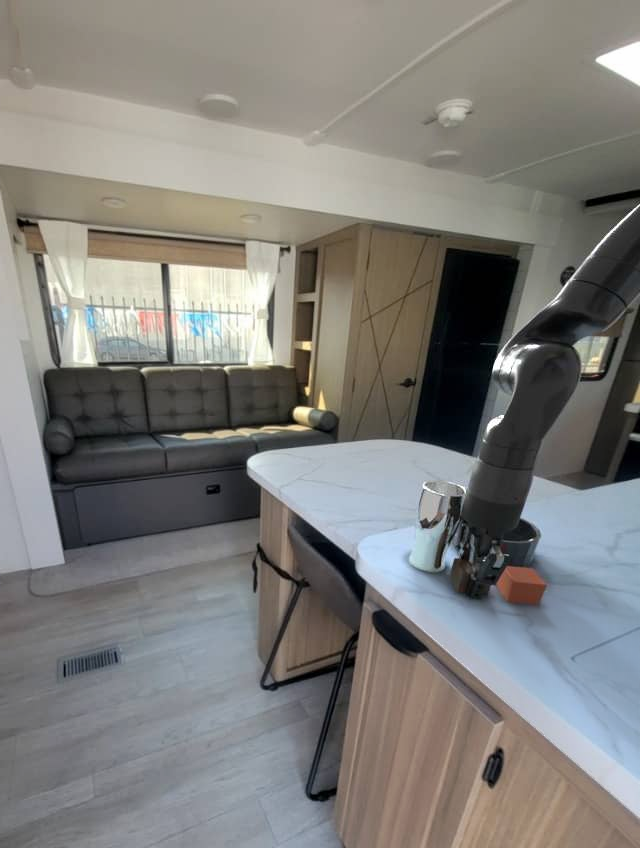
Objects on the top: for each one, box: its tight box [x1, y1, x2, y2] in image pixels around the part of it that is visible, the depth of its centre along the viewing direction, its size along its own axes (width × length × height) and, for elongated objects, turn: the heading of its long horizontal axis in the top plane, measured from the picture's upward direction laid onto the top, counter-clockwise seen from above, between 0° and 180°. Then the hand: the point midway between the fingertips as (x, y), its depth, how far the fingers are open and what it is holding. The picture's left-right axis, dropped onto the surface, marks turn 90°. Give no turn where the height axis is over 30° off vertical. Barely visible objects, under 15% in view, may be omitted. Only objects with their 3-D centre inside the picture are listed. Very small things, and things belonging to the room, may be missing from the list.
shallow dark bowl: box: [451, 517, 542, 568], centre depth 75 cm, size 13×13×6 cm
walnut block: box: [449, 557, 492, 597], centre depth 64 cm, size 4×4×4 cm
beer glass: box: [408, 480, 467, 573], centre depth 68 cm, size 7×7×15 cm
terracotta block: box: [495, 566, 548, 606], centre depth 63 cm, size 4×4×4 cm
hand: (466, 588), depth 65 cm, fingers closed on walnut block, 4 cm apart
